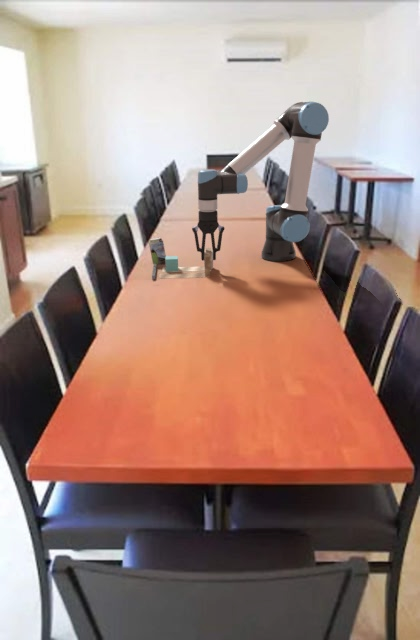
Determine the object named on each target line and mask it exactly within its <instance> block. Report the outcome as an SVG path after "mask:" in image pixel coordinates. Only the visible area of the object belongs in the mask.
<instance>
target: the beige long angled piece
mask: <svg viewBox="0 0 420 640" xmlns="http://www.w3.org/2000/svg"><path fill="white" fill-rule="evenodd" d="M205 252H206V253H209V254H210V272H212V270H213V269H212V268H211V252H212V247H205ZM192 272H205V268H204V265H203V266H182V267H181V266H178V271H166V267H162V269H161V273H192Z"/></svg>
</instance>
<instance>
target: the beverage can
mask: <svg viewBox="0 0 420 640" xmlns="http://www.w3.org/2000/svg"><path fill="white" fill-rule="evenodd" d="M148 244H149V246H148V247H149V250H150V254H151V260H152V264H153V265H154V263H157V265H158V266H159V265H166V264H165V257H166V256H167V254H166V249H165V246H164V245H165V244H164V240H163V239H162V237H160V236H159V237H153V238H150V239H149V241H148Z"/></svg>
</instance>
